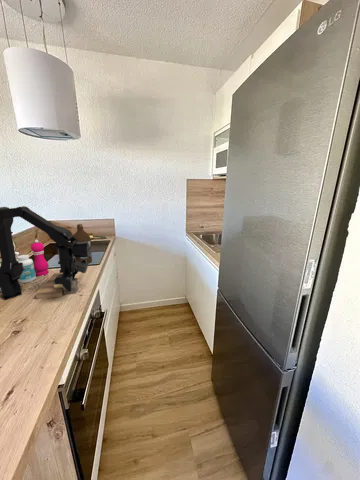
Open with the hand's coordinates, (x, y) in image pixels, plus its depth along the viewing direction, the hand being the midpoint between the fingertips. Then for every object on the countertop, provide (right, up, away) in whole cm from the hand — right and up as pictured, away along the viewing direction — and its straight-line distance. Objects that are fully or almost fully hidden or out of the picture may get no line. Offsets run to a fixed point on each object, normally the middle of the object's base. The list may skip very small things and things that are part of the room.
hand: (70, 289), depth 98 cm
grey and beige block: (-2, -2, 0) cm, 2 cm away
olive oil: (-11, +8, +38) cm, 40 cm away
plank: (-10, 0, +6) cm, 12 cm away
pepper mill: (-27, +4, +20) cm, 34 cm away
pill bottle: (-29, +2, +12) cm, 32 cm away
